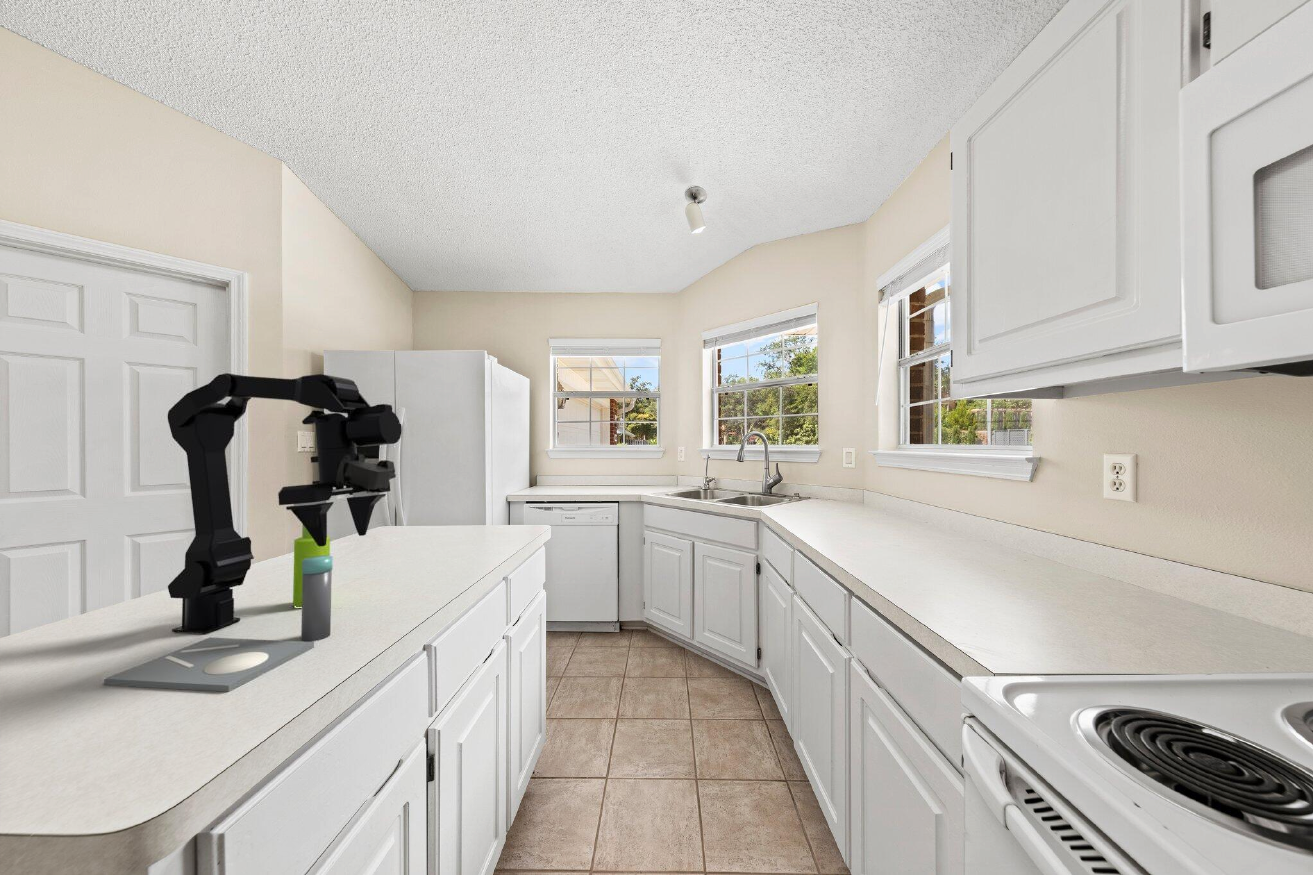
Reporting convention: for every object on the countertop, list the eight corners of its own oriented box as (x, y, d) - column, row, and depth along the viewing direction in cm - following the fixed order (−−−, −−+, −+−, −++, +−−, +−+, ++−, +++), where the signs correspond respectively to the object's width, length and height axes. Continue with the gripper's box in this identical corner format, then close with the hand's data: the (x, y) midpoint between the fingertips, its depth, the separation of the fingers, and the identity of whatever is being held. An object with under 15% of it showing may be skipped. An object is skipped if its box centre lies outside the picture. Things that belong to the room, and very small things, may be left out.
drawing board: (103, 684, 64) (104, 677, 64) (209, 642, 78) (209, 636, 78) (228, 691, 63) (228, 684, 63) (313, 647, 77) (314, 641, 77)
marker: (293, 641, 79) (295, 561, 79) (314, 631, 83) (315, 555, 84) (317, 642, 79) (319, 561, 79) (337, 632, 83) (338, 556, 83)
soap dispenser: (339, 598, 101) (341, 502, 102) (312, 609, 95) (315, 506, 95) (313, 597, 102) (315, 501, 102) (285, 607, 95) (287, 505, 95)
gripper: (339, 445, 73) (347, 549, 73) (413, 445, 92) (420, 527, 91) (272, 451, 74) (279, 553, 74) (358, 450, 93) (364, 532, 92)
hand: (343, 540), depth 83 cm, fingers open, 9 cm apart
